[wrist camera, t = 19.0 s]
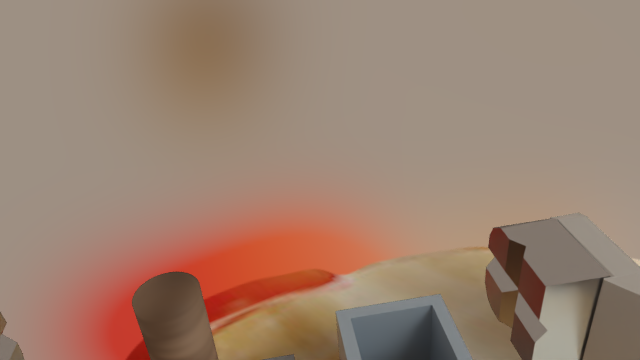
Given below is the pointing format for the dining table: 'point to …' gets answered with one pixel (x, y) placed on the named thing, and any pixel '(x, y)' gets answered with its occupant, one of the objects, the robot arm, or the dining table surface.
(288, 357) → the tray
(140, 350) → the dining table surface
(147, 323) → the walnut dowel
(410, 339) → the grey open-top box
